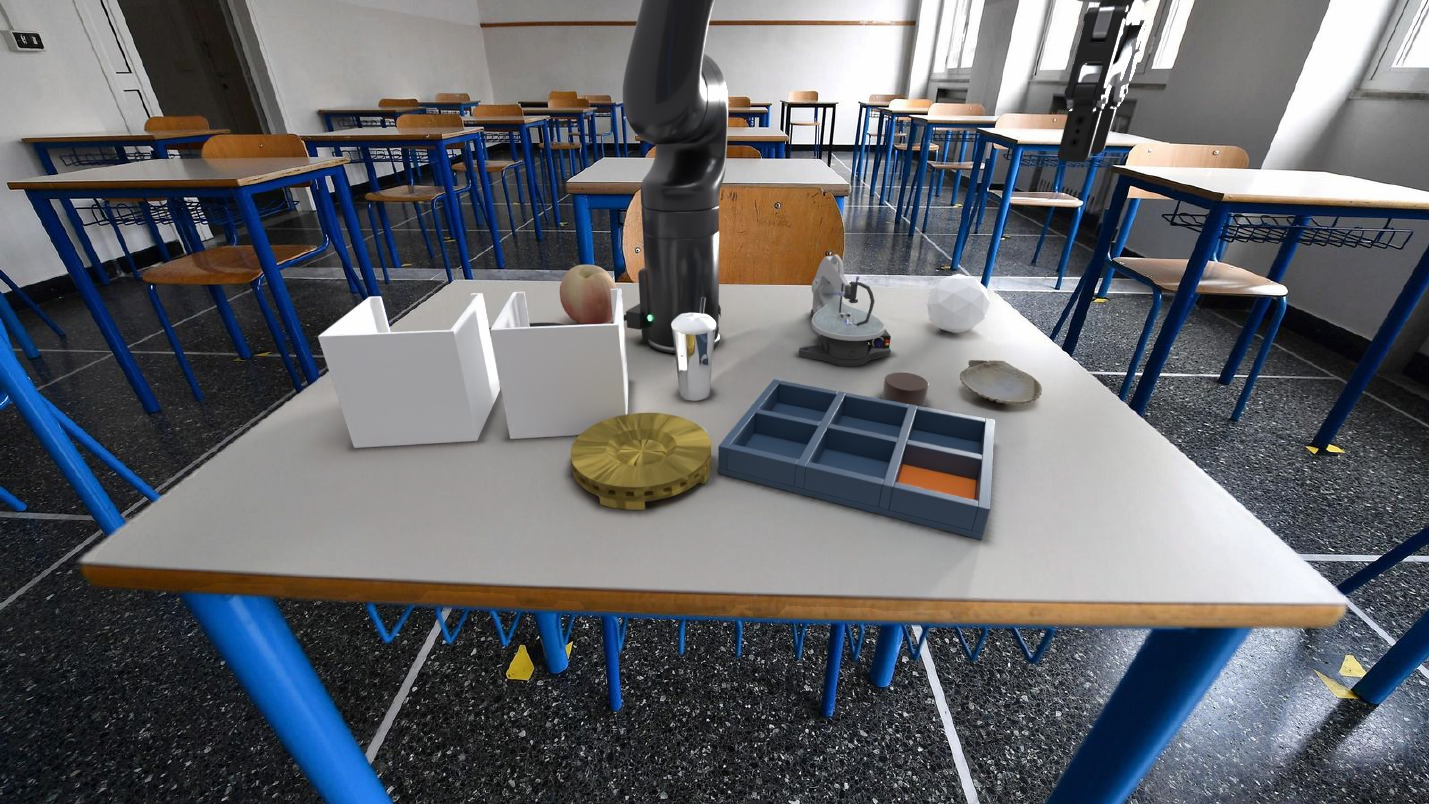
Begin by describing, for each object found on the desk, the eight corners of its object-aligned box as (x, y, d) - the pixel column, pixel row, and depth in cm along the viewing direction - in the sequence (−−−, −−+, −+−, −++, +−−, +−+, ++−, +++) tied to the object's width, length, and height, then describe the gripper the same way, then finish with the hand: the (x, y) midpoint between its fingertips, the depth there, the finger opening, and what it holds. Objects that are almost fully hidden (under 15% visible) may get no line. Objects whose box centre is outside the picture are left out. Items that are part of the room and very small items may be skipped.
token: (878, 407, 62) (881, 385, 61) (885, 390, 66) (888, 369, 65) (921, 415, 61) (926, 393, 60) (927, 397, 64) (930, 376, 63)
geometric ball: (951, 343, 86) (982, 294, 85) (978, 344, 78) (1012, 290, 77) (907, 315, 85) (938, 266, 84) (929, 313, 77) (963, 259, 76)
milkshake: (723, 385, 67) (724, 299, 62) (707, 407, 62) (707, 315, 58) (685, 380, 68) (683, 295, 64) (667, 400, 64) (663, 310, 59)
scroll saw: (786, 241, 83) (867, 241, 84) (782, 314, 88) (859, 313, 89) (811, 282, 66) (915, 282, 66) (804, 370, 71) (900, 369, 71)
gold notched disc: (551, 459, 54) (547, 438, 53) (664, 420, 60) (663, 401, 59) (614, 529, 45) (612, 506, 44) (739, 475, 51) (739, 454, 50)
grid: (718, 473, 52) (718, 445, 50) (772, 402, 63) (773, 378, 62) (981, 540, 44) (990, 509, 43) (988, 445, 56) (995, 419, 54)
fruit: (564, 335, 81) (556, 277, 77) (563, 315, 88) (556, 261, 84) (623, 330, 82) (619, 273, 79) (617, 311, 89) (613, 258, 85)
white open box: (354, 447, 55) (317, 336, 50) (396, 394, 65) (369, 296, 60) (627, 432, 58) (618, 324, 53) (628, 383, 67) (621, 288, 62)
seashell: (966, 422, 63) (1050, 413, 61) (966, 399, 62) (1052, 389, 59) (954, 377, 70) (1030, 368, 67) (953, 355, 68) (1030, 345, 66)
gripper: (1101, -57, 51) (1050, 148, 59) (1070, -93, 41) (1013, 160, 49) (1210, -68, 47) (1140, 154, 55) (1205, -112, 37) (1120, 167, 45)
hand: (1080, 156), depth 52 cm, fingers open, 8 cm apart
